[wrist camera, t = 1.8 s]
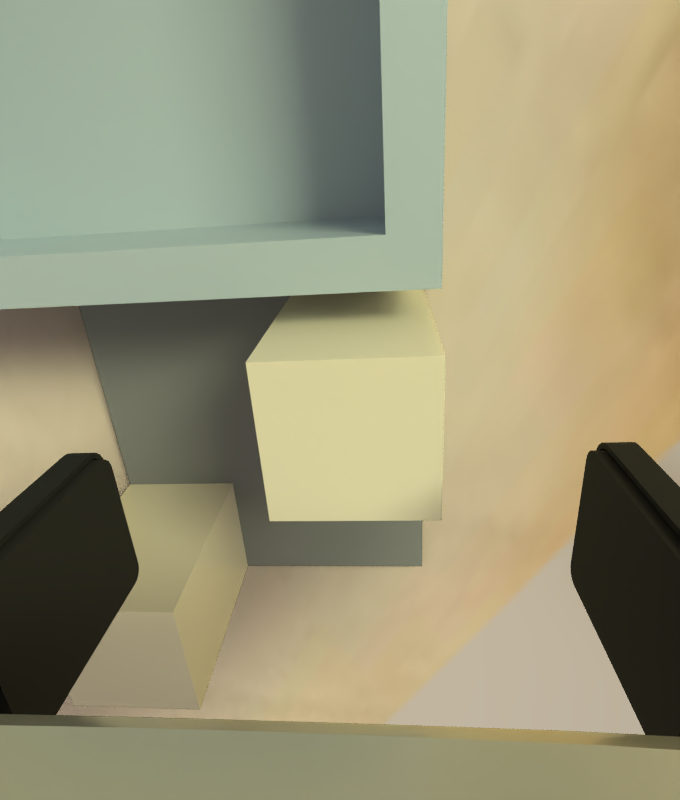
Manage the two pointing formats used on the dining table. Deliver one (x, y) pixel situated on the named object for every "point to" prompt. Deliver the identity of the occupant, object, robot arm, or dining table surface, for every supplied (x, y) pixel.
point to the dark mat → (216, 423)
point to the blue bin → (219, 149)
